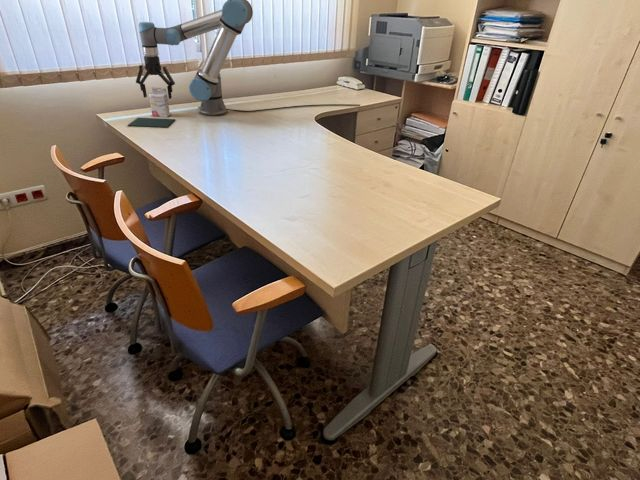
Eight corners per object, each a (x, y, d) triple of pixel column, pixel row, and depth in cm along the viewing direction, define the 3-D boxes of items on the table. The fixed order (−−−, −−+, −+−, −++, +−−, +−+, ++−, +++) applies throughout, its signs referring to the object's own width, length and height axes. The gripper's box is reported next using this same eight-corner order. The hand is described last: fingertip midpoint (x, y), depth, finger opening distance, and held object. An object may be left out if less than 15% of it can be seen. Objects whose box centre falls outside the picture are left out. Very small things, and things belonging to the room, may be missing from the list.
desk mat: (175, 120, 217) (174, 119, 216) (167, 127, 205) (166, 126, 205) (138, 118, 216) (138, 117, 216) (128, 126, 204) (127, 125, 204)
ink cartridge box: (152, 116, 221) (147, 88, 213) (156, 113, 225) (151, 86, 218) (166, 117, 221) (162, 89, 213) (170, 115, 225) (166, 88, 217)
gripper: (177, 56, 210) (182, 97, 222) (129, 53, 209) (137, 94, 220) (173, 58, 204) (178, 100, 215) (124, 55, 203) (132, 97, 214)
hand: (157, 97), depth 218 cm, fingers open, 13 cm apart
